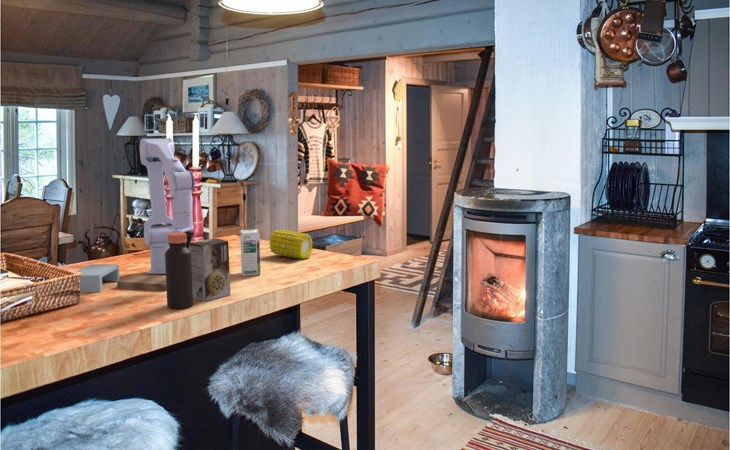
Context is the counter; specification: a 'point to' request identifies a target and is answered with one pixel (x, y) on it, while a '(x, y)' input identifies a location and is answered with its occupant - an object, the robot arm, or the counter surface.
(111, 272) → the shelf
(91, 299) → the counter surface
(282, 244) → the food
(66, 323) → the counter surface
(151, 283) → the board
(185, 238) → the bottle
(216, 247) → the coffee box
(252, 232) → the syrup box
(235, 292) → the counter surface
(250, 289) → the counter surface
